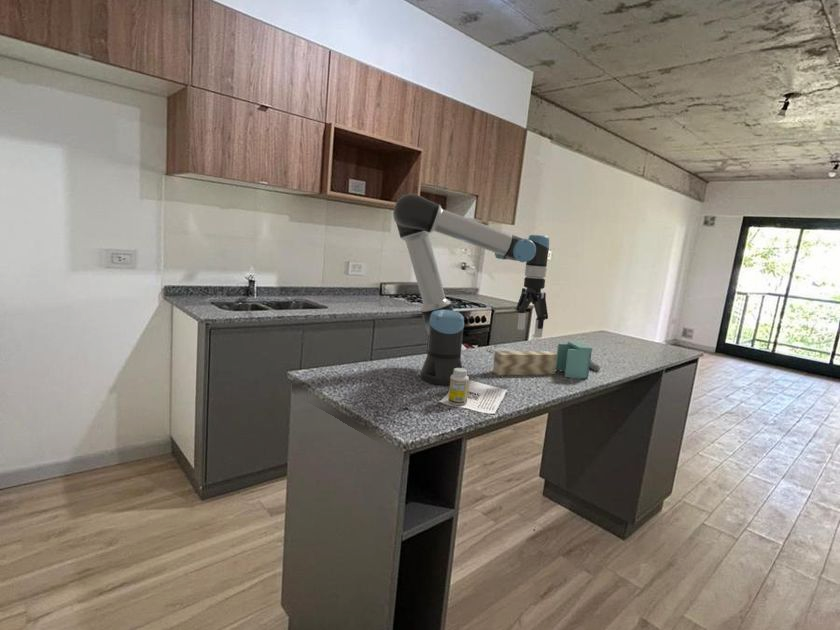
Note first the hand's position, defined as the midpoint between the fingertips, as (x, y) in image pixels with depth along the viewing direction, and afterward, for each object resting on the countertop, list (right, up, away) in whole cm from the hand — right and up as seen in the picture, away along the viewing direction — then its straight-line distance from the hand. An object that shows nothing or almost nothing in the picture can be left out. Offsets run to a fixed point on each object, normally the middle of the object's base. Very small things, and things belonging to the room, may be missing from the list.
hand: (529, 333), depth 172 cm
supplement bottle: (-30, -19, -36) cm, 51 cm away
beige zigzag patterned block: (-1, -15, +2) cm, 16 cm away
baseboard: (+2, -13, +24) cm, 27 cm away
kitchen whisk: (+30, -14, +27) cm, 43 cm away
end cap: (+18, -16, +5) cm, 24 cm away
